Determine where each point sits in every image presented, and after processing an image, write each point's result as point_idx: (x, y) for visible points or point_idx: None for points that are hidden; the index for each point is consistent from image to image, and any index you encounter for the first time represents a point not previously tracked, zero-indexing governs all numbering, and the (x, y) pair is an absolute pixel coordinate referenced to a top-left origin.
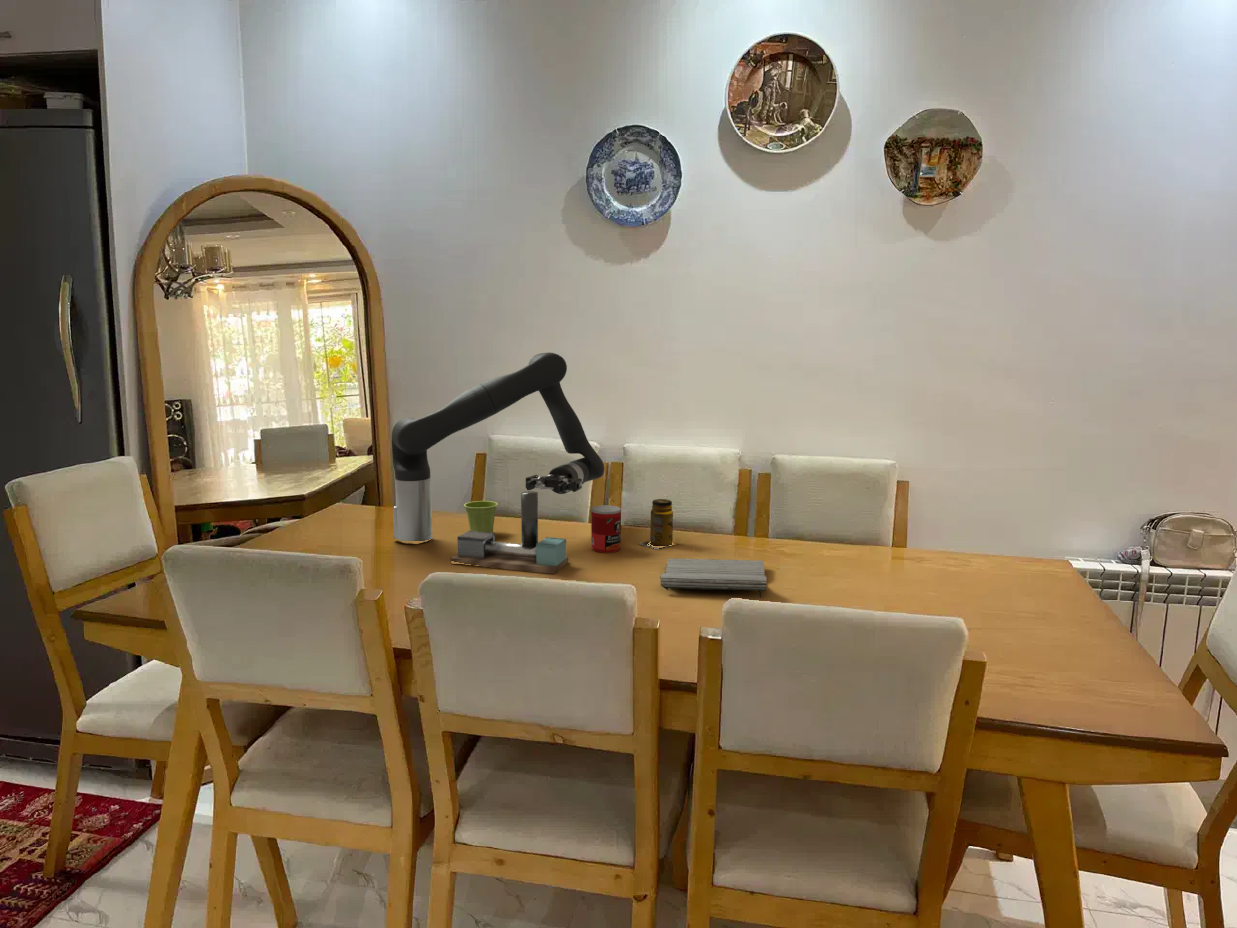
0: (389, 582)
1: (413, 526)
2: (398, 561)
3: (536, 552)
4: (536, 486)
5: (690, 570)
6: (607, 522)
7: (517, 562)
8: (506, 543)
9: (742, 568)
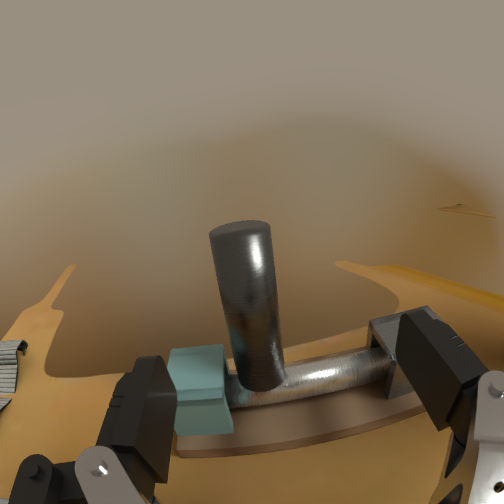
0: (396, 273)
1: None
2: (481, 308)
3: (226, 360)
4: (450, 447)
5: None
6: None
7: None
8: (329, 361)
9: None
